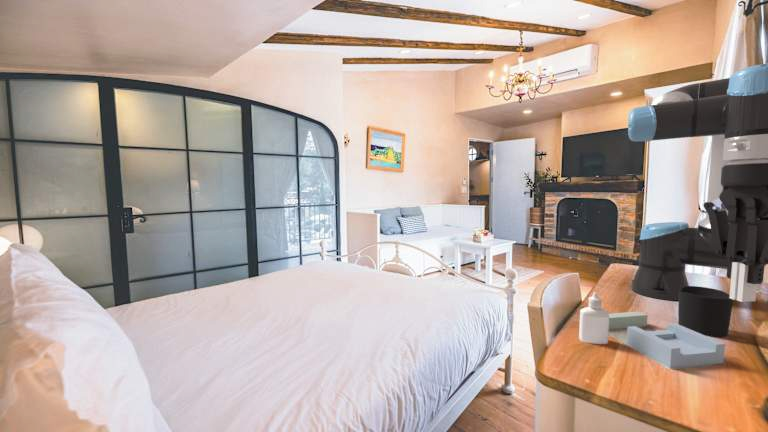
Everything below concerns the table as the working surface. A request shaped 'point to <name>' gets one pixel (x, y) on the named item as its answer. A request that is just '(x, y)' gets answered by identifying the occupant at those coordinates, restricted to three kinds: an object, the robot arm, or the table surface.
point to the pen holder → (705, 310)
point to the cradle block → (676, 346)
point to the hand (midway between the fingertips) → (742, 299)
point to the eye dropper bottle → (594, 322)
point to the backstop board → (632, 320)
